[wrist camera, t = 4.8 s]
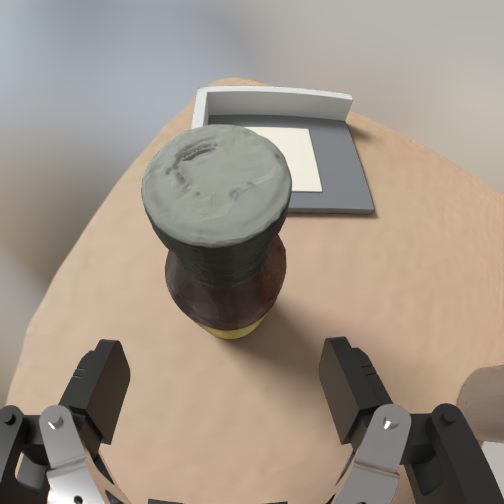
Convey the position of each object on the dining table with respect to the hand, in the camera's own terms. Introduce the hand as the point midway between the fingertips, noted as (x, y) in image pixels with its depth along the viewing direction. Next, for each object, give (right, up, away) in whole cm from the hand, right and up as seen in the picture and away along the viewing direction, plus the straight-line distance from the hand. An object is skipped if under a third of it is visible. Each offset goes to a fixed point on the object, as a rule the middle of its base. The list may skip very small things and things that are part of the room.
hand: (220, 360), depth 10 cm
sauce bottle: (-1, -1, +15) cm, 15 cm away
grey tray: (+5, +16, +22) cm, 28 cm away
